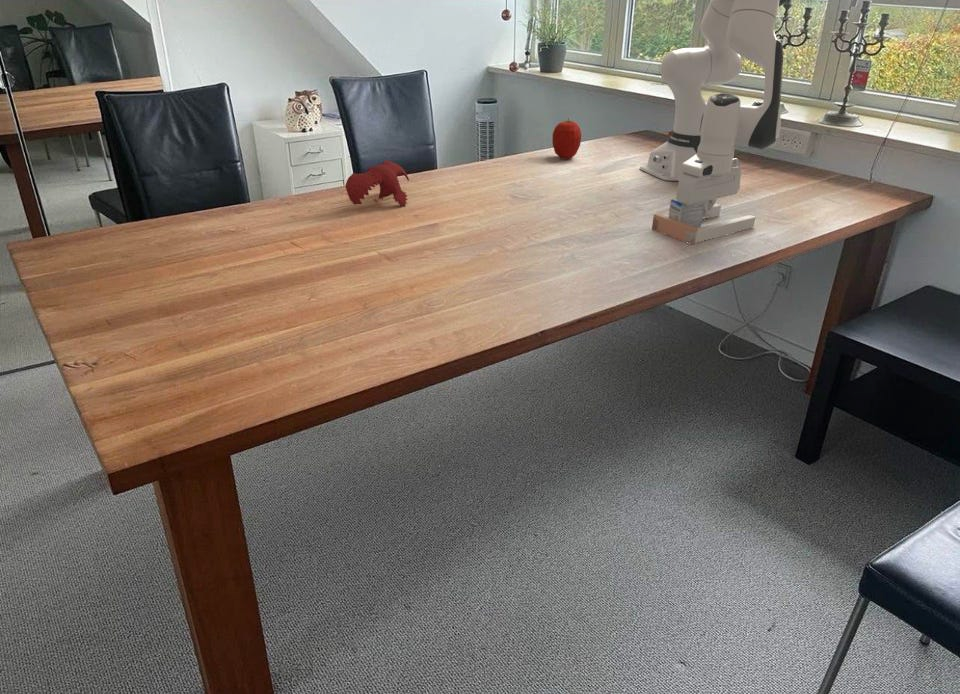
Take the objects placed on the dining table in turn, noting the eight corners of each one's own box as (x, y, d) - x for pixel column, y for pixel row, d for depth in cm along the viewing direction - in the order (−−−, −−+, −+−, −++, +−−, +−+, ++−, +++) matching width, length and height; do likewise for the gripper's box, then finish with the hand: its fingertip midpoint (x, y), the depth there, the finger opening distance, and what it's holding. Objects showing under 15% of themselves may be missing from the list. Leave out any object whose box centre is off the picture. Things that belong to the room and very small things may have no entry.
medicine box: (688, 226, 187) (693, 194, 183) (700, 231, 183) (706, 199, 179) (665, 231, 183) (670, 198, 179) (677, 236, 180) (682, 203, 176)
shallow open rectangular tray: (651, 228, 185) (653, 214, 183) (713, 213, 196) (716, 199, 194) (690, 244, 175) (693, 229, 173) (753, 227, 187) (756, 213, 185)
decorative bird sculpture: (416, 205, 214) (386, 164, 212) (435, 187, 208) (405, 146, 207) (363, 233, 192) (329, 188, 190) (383, 215, 186) (348, 168, 184)
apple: (551, 154, 253) (554, 114, 247) (579, 155, 252) (583, 115, 245) (550, 161, 244) (552, 120, 238) (579, 162, 243) (582, 121, 237)
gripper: (731, 154, 184) (721, 205, 191) (676, 165, 174) (668, 219, 181) (750, 159, 179) (740, 211, 186) (695, 171, 170) (687, 226, 177)
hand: (704, 215), depth 184 cm, fingers closed
